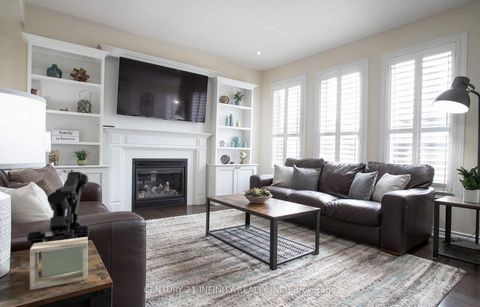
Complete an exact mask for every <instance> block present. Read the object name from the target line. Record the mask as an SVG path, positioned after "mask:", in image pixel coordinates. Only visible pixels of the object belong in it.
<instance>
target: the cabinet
mask: <svg viewBox="0 0 480 307" xmlns="http://www.w3.org/2000/svg"><path fill="white" fill-rule="evenodd" d="M88 239H89V237H83V238H75V239H67V240H62V239H61V240H55V241H50V242H42V243H34V244H33V245H31V247H30V249H29V291H31V290H36V289H43V288H48V287H53V286H57V285H64V284H70V283H75V282H80V281H86V280H87V279H88V273H89V270H88V269H89V268H88V265H89V264H88V263H89V262H88V258H89V257H88V256H89V253H88V250H89V246H88V245H89V240H88ZM80 246H83V271H77V272H71V273H65V274H59V275H53V276H48V277H42V276H41V277H39V253H42V252H43V251H50V250H57V249H65V248H72V247H80Z"/></svg>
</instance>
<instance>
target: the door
mask: <svg viewBox="0 0 480 307" xmlns="http://www.w3.org/2000/svg"><path fill="white" fill-rule="evenodd" d="M40 253H41V255H40V256H41V272H40V273H41V278H42V277H48V276H53V275H59V274H65V273H71V272H77V271H83V246H80V247H72V248H65V249H57V250H50V251H43V252H40Z"/></svg>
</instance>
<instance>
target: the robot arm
mask: <svg viewBox="0 0 480 307" xmlns="http://www.w3.org/2000/svg"><path fill="white" fill-rule="evenodd" d="M88 184H89V177H88V174H85V173H82V172H80V171H70V172H67V177H66V180H65V182H64V184H63V186H61V187H59V188H57V189H55V191H53V192H52V193H50V194H49V195H48V196H47V197H46V198H47V204H49V207H50V209H51V211H52V217H50V218H49V219H50V222H49V231H48V232H46V231H45V232H44V233H43V230H42V229H39V230H32V231H31V230H30V231H29V232H28V233H27V235H26V236H27V237H26V239H27V242H28V245H29V246H33V244H34V243H42V242H43V239H44V240H45V242H50V241H56V240H55V239H60V238H61V240H67V239H75V238H83V237H88V238H89V236H90V233H89V232H90V231H89V229H90V228H89V226H88V225H87V224H86V225H82V224H81V222H80V220H79V216H78V211H79V206H80V200H81V195H82V192H83V191H85V190H86V189H87V186H88Z"/></svg>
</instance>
